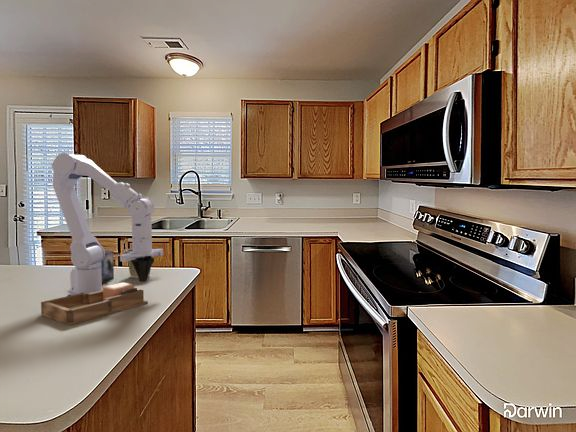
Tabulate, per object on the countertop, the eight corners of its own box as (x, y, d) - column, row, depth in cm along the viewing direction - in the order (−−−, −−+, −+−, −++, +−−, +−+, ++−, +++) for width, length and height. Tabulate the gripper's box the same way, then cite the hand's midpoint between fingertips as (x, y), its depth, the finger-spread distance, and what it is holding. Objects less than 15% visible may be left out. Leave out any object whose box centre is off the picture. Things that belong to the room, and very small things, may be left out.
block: (103, 302, 129) (102, 286, 129) (123, 296, 135) (123, 281, 134) (113, 305, 126) (113, 288, 126) (134, 299, 132) (134, 284, 132)
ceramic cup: (128, 280, 158) (127, 253, 157) (123, 275, 167) (123, 248, 166) (165, 277, 165) (164, 250, 164) (158, 271, 173) (158, 246, 172)
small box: (97, 285, 151) (96, 255, 150) (80, 284, 152) (79, 254, 151) (115, 278, 161) (114, 250, 160) (99, 277, 162) (98, 249, 161)
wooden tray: (41, 315, 119) (40, 299, 118) (119, 295, 138) (119, 282, 138) (69, 325, 111) (68, 308, 111) (147, 303, 131) (147, 288, 131)
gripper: (130, 241, 128) (131, 288, 129) (169, 236, 140) (170, 278, 141) (115, 239, 132) (116, 284, 133) (154, 234, 144) (155, 275, 145)
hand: (143, 281), depth 137 cm, fingers closed
